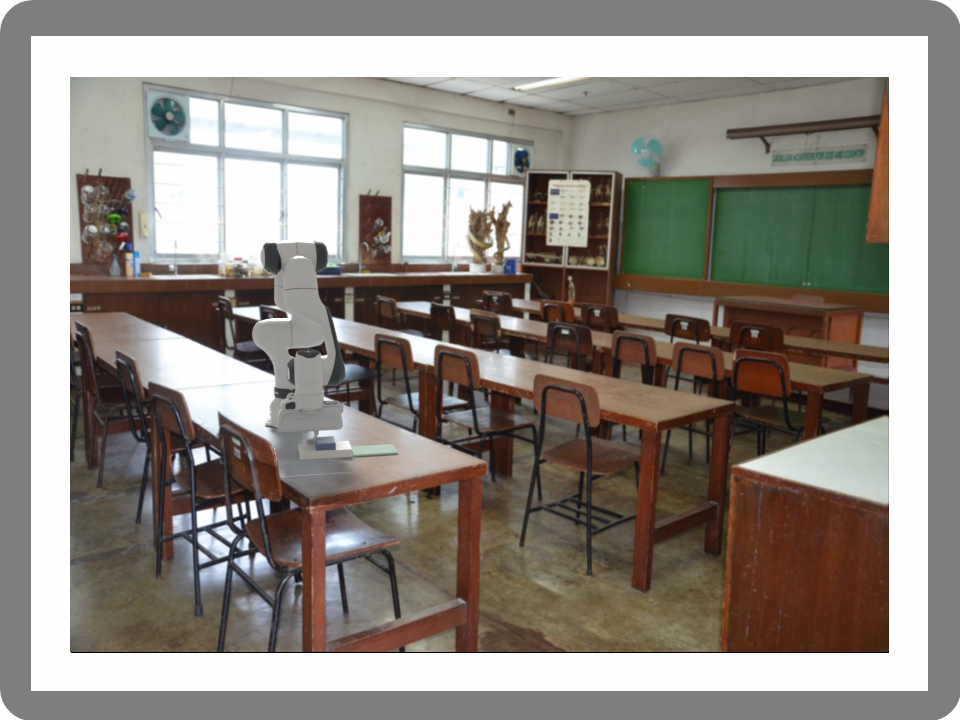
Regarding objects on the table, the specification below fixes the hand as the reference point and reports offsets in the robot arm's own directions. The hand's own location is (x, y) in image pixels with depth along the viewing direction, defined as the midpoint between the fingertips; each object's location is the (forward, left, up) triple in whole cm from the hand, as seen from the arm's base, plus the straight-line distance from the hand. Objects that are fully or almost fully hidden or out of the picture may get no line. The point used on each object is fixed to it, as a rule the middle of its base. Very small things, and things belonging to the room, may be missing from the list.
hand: (310, 444), depth 248 cm
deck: (0, +4, -3) cm, 6 cm away
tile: (0, +4, -1) cm, 5 cm away
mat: (0, +20, -3) cm, 20 cm away
